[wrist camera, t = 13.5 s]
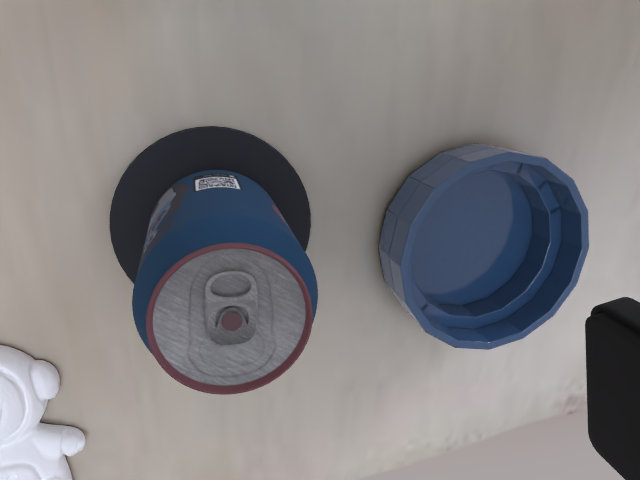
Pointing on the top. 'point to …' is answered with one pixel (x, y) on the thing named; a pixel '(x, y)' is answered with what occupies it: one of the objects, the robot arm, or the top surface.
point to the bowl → (484, 244)
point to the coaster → (191, 157)
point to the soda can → (223, 285)
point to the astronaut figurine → (32, 421)
